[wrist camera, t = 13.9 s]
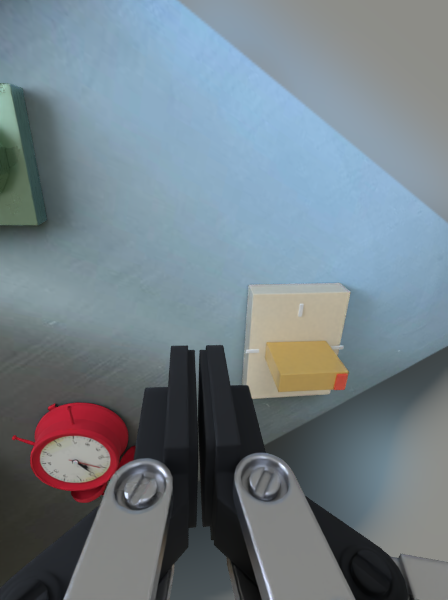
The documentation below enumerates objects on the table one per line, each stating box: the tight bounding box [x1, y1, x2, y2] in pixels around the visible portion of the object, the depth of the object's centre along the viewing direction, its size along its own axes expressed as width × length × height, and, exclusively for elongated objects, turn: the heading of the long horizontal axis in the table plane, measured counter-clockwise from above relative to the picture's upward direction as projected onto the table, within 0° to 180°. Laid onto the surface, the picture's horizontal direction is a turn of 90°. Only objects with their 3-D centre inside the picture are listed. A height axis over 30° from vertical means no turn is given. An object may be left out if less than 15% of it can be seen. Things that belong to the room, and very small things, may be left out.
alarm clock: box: [12, 403, 136, 503], centre depth 39 cm, size 10×6×15 cm
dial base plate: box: [242, 283, 350, 399], centre depth 37 cm, size 13×11×3 cm
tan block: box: [265, 341, 349, 392], centre depth 34 cm, size 6×2×6 cm, turn 88°
